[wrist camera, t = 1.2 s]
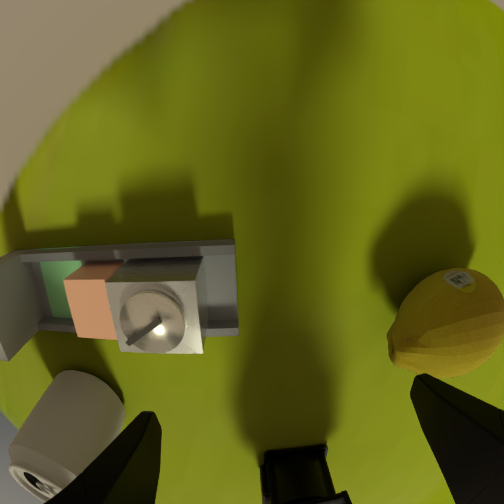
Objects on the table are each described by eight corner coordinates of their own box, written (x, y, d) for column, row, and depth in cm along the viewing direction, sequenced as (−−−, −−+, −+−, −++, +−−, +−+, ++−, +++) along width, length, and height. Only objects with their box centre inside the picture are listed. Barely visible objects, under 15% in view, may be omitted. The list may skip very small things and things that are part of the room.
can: (53, 353, 21) (-15, 444, 10) (128, 379, 22) (82, 494, 11) (62, 407, 23) (17, 492, 12) (128, 431, 24) (99, 529, 13)
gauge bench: (234, 238, 19) (234, 272, 13) (238, 324, 21) (240, 381, 15) (14, 250, 19) (-36, 276, 13) (31, 319, 20) (-9, 357, 14)
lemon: (476, 254, 21) (540, 287, 13) (456, 334, 23) (505, 379, 15) (374, 254, 20) (438, 300, 13) (358, 347, 22) (399, 414, 15)
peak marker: (124, 260, 19) (104, 279, 16) (133, 314, 20) (117, 339, 17) (86, 262, 19) (63, 279, 16) (97, 313, 20) (78, 337, 17)
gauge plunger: (203, 255, 19) (192, 286, 14) (208, 317, 20) (201, 361, 15) (129, 258, 19) (99, 288, 14) (139, 317, 20) (116, 359, 15)
